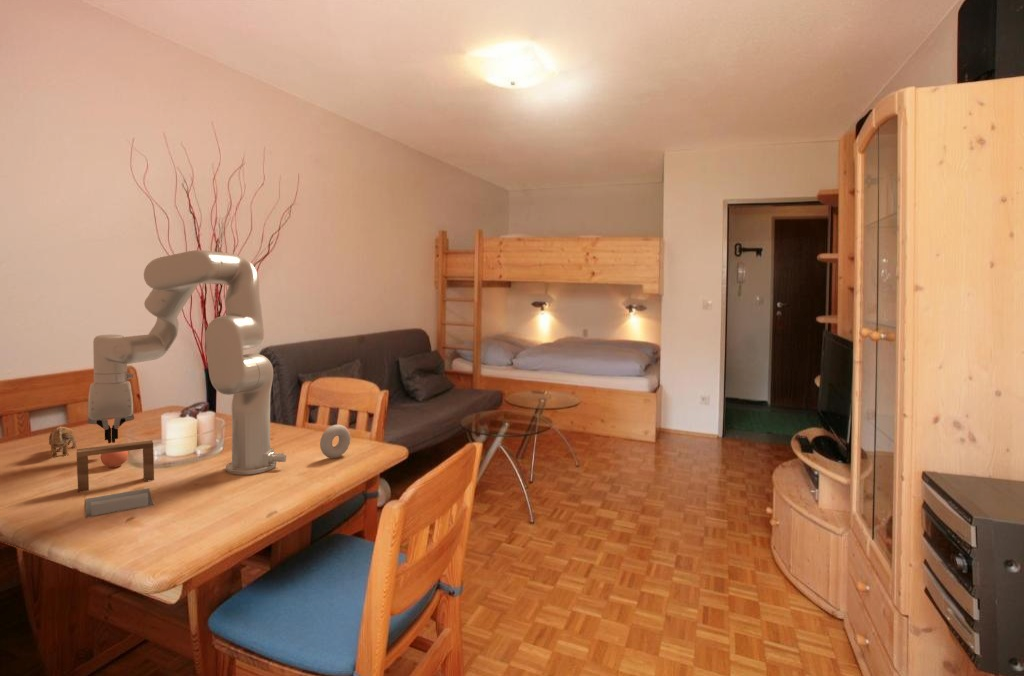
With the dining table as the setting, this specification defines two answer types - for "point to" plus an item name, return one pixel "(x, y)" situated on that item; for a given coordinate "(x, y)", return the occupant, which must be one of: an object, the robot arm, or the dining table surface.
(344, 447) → the donut
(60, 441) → the brown toy animal
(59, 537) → the dining table surface
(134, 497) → the wall
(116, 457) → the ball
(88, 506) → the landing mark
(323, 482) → the dining table surface
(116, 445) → the bridge
